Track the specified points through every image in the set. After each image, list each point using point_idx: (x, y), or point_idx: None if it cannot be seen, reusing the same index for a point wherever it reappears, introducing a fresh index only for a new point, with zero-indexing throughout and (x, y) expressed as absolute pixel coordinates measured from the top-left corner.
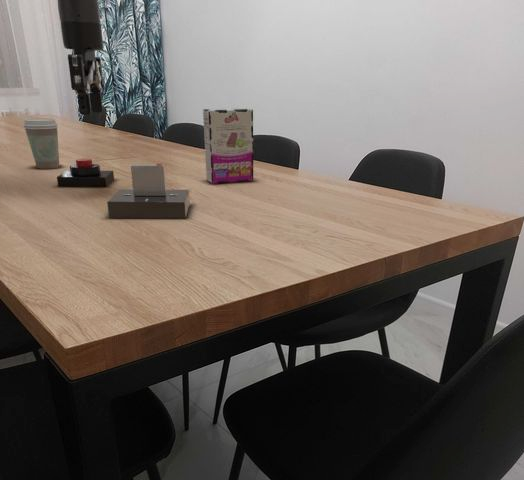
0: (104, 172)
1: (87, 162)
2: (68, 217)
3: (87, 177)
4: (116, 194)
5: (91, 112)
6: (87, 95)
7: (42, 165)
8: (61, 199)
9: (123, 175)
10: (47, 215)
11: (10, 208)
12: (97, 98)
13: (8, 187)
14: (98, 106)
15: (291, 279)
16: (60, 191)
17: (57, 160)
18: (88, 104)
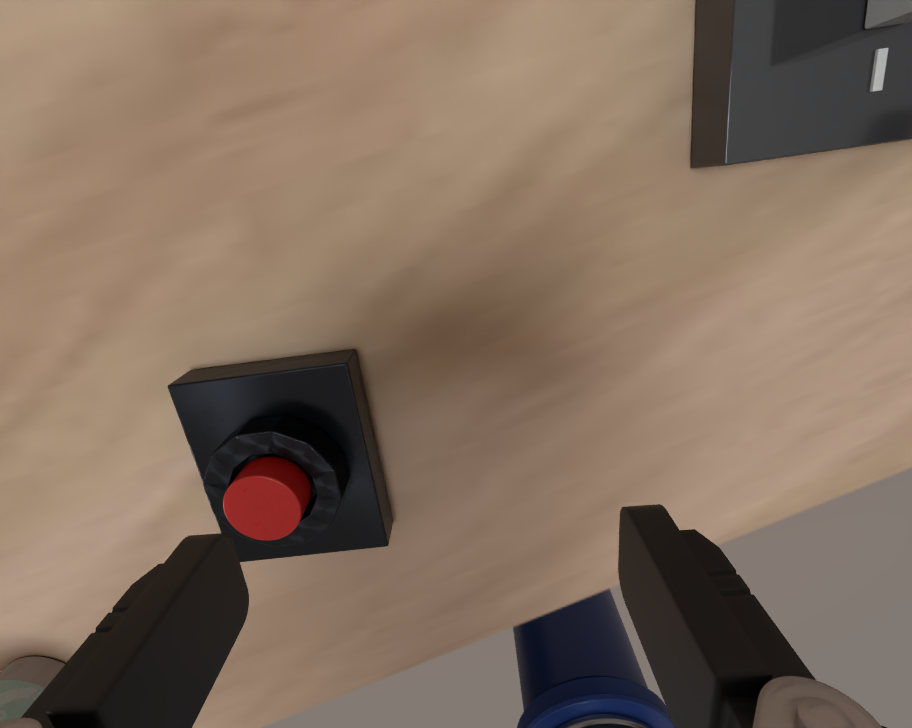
0: (230, 407)
1: (288, 480)
2: (894, 298)
3: (363, 436)
4: (854, 133)
5: (629, 510)
6: (757, 670)
7: None
8: (603, 430)
9: (69, 365)
10: (852, 379)
11: (741, 523)
12: (160, 674)
13: (434, 650)
14: (206, 595)
15: None
16: (468, 484)
17: (13, 680)
18: (703, 576)
